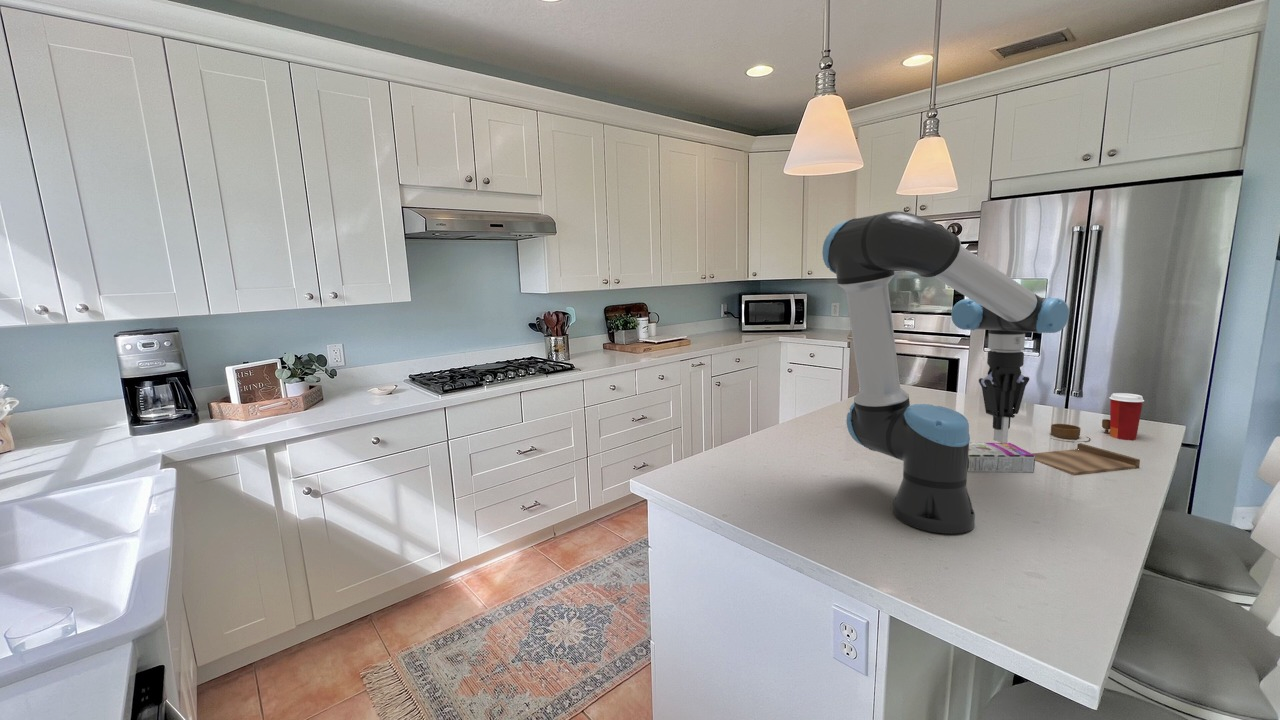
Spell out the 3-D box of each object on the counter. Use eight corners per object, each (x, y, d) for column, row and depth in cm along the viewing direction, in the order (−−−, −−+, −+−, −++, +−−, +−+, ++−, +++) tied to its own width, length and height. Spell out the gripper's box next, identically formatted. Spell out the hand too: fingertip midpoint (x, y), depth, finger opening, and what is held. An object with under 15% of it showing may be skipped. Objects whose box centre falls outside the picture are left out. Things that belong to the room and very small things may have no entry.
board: (1073, 475, 130) (1074, 466, 129) (1020, 457, 144) (1020, 449, 144) (1139, 468, 133) (1140, 459, 133) (1080, 451, 148) (1081, 443, 148)
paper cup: (1146, 442, 155) (1150, 395, 153) (1131, 445, 152) (1135, 398, 150) (1114, 435, 162) (1118, 391, 160) (1099, 438, 159) (1103, 394, 157)
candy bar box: (1009, 459, 143) (946, 458, 145) (1010, 442, 142) (947, 441, 144) (1034, 474, 132) (966, 472, 134) (1036, 455, 131) (967, 454, 133)
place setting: (1031, 432, 169) (1032, 415, 169) (1108, 437, 162) (1110, 419, 161) (1050, 448, 153) (1052, 428, 152) (1137, 454, 146) (1139, 433, 145)
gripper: (996, 353, 126) (990, 447, 129) (1041, 350, 128) (1035, 443, 131) (971, 350, 133) (966, 439, 136) (1014, 347, 135) (1009, 435, 138)
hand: (1000, 441), depth 134 cm, fingers closed
